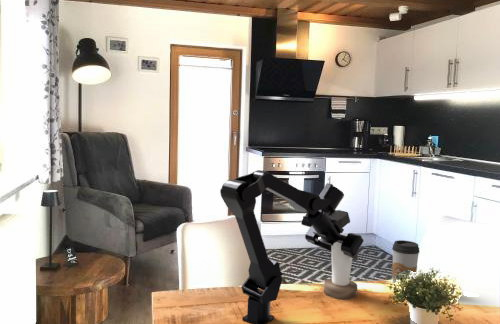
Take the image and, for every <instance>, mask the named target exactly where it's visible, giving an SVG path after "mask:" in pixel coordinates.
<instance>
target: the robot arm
mask: <svg viewBox="0 0 500 324" xmlns="http://www.w3.org/2000/svg"><path fill="white" fill-rule="evenodd" d="M219 190H220V196H221V197H220V198H221V199H222V200H223V202H224V204H225V206H226V208H228V209H229V211H230V212H231V213H232V214H233V215H234V217H235V220H236V223H237V227H238V229H239V232H240V234H241V235H240V236H241V237H242V238H241V239H242V241H243V244H244V247H245V250H246V253H247V256H248V259H249V262H250V263H249V267H248V277H247V278H246V280H245V281H244V282H243V284H242V285H241V288H240V289H241V291H242V293H243V294H244V295H246V296H247V297H248V298H247V312H246V313H247V314H246V315H244V316H242V321H246V322H248V323H251V324H268V323H270V322H272V320H274V319H276V318H275V315H273V314H271V302H274V301H276V300H277V298H278V296H279V293H280V289H281V286H282V283H283V278H282V276H283V275H284V274H283V273H282V271H281V268H280V266H281V265H280V263H279V261H276V260H274V259H272V258H269V255H268V252H267V248H266V246H265V242H264V239H263V236H262V232H261V230H260V226H259V223H258V220H257V217H256V214H255V208H256V205H257V204H256V203H257V199H256V198H258V197H260V196H262V194H263V193H264V192H265V190H266V191H268V192H270V193H273V194H274V195H276V196H277V197H280V198H282V199H283V200H286V202H288V205H290V206H291V207H292V208H293V210H295V211H297V212H301V213H305V215H303V217H302V220H301V225H302V226H305V227H308V230H307V232H305V235H304V240H306V241H307V242H308V243H310V244H311V245H315V247H316V246H317V247H319V248H321V249H324V250H327V251H328V252H330V253H331V245H332V246H333V244H334V243H336V242H338V243H342V244H341V251H342V252H343V254H345V255H347V256H349V257H351V258H352V260H355V261H356V260H358V258H359V256H358V251H359V250H360V248H361V246H362V245H363V243H364V241H365V240H364V238H363V237H362V235H361V234H356V233H354V232H349V233H348V234H347V236H344V235H340V234H344V233H343V232H344V231H345V229H344V227H346V226H347V225H349V224H350V223H351V218H350V215H349V212H348V211H346V210H345V211H344V210H340V209H338V210H337V208H338V206H339V205H340V203H341V202H342V200H343V199H344V197H345V194H344V192H343V191H342V190H340V189H339V188H338V187H336V186H334V185H333V183H330V182H329V183H326V184H325V185H324V188H323V189H322V190H321V192H320V194H317V193H313V192H310V191H305V190H301V189H298V188H297V187H295V186H293V185H291V184H290V183H287V182H286V181H284V180H282V179H280V178H278V177H277V176H275V175H274V174H272V173H271V172H270V171H265V170H260V169H258V170H255V171H252V172H250V173H249V174H244V175H242V176H238V177H236V178H234V179H232V178H231V179H226V180H225V181H224V182H223V184H222V186H221V188H220V189H219Z"/></svg>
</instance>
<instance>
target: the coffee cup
mask: <svg viewBox="0 0 500 324" xmlns="http://www.w3.org/2000/svg"><path fill="white" fill-rule="evenodd" d="M391 249H392V284H393V283H395V282H396V279H395V276H396V274H399V273H401V272H403V271H405V270H411V271H413V272H416V273H417V270H418V260H419V254H420V247H419V244H418V243H417V242H415V241H410V240H403V239H402V240H401V239H400V240H395V241H394V242H393V244H392V247H391Z"/></svg>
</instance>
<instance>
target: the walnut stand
mask: <svg viewBox="0 0 500 324" xmlns="http://www.w3.org/2000/svg"><path fill="white" fill-rule="evenodd" d="M323 285H324V286H323V294H325V295H326V297H327V296H328V297H329V298H332V299H336V300H345V301H346V300H352V299H354V298H356V297H357V294H358V284H357V283H356V281H355V282H354V281H352V280H350V279H349V284H348V285H347V286H337V285H335V284H333V283H332V277H331V278H327V279H326V280H324V283H323Z"/></svg>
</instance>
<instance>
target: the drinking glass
mask: <svg viewBox="0 0 500 324" xmlns="http://www.w3.org/2000/svg"><path fill="white" fill-rule="evenodd" d="M340 235H344V236H347V235H348V234H346V233H340ZM341 244H342V243H338V242H336V243H334V244H333V246H332V245H331V252H330V255H331V258H330V259H331V278H332V283H333V284H335V285H337V286H347V285H348V284H349V280H350V277H351V272H352V271H351V269H352V262H353V258H351V257H349V256H347V255H345V254H343V252H342V251H341Z"/></svg>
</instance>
